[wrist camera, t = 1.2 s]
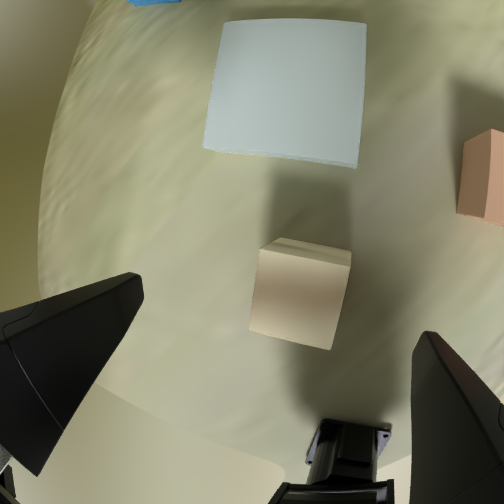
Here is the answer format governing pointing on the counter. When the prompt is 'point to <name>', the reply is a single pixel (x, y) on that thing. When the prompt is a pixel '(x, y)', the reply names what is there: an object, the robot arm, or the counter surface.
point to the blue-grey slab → (289, 90)
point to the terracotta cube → (483, 178)
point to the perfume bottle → (150, 2)
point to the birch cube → (299, 291)
